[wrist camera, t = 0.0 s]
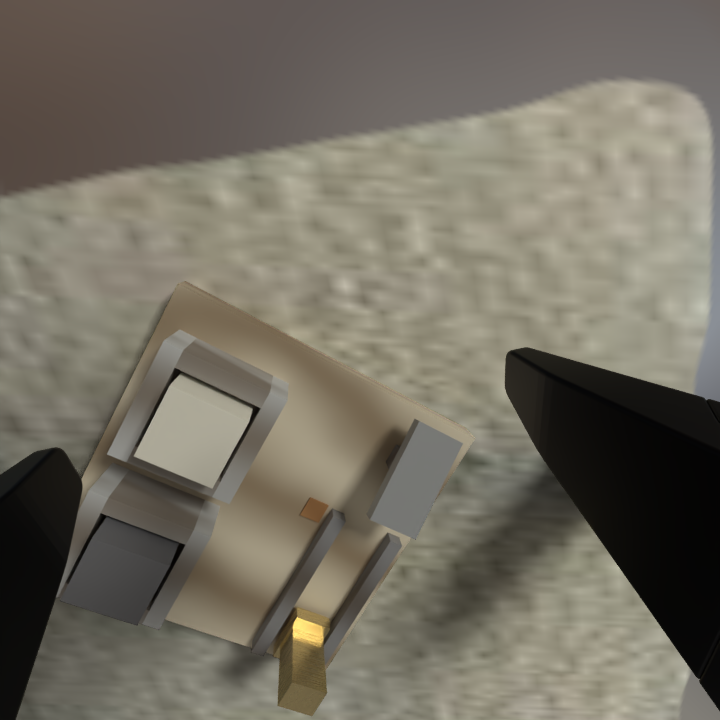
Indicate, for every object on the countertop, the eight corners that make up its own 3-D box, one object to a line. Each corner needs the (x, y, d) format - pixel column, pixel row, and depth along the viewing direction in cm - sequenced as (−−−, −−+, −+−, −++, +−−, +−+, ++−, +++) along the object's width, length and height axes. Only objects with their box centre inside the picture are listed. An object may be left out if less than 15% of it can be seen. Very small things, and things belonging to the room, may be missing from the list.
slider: (305, 655, 27) (307, 726, 23) (273, 644, 27) (269, 715, 23) (329, 618, 27) (335, 683, 23) (297, 606, 26) (297, 671, 22)
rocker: (410, 533, 24) (415, 539, 23) (366, 514, 23) (369, 519, 22) (457, 440, 24) (463, 443, 23) (414, 418, 23) (419, 420, 23)
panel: (323, 651, 30) (327, 715, 26) (48, 557, 25) (1, 616, 21) (465, 428, 27) (495, 460, 23) (185, 281, 23) (161, 288, 19)
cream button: (219, 467, 22) (212, 488, 20) (148, 436, 21) (133, 456, 19) (253, 405, 21) (249, 421, 19) (181, 372, 20) (169, 385, 18)
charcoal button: (150, 593, 23) (137, 625, 21) (80, 569, 22) (59, 600, 20) (180, 538, 22) (169, 565, 20) (110, 511, 21) (91, 537, 20)
